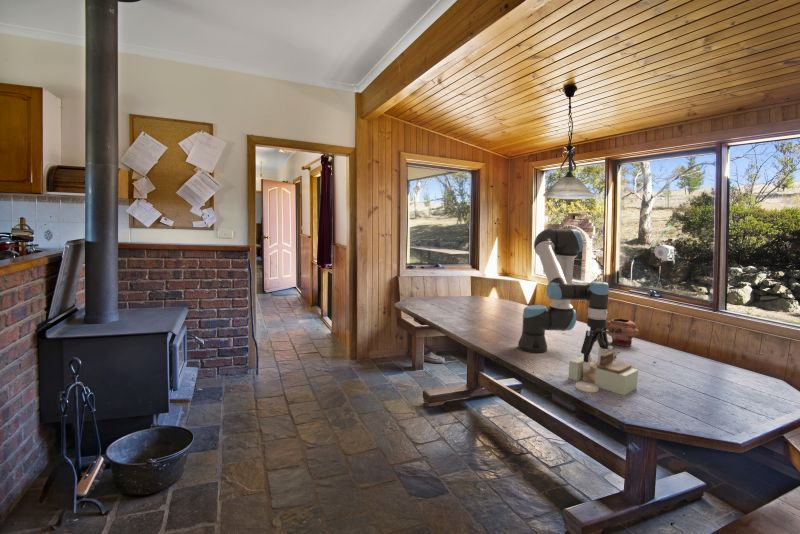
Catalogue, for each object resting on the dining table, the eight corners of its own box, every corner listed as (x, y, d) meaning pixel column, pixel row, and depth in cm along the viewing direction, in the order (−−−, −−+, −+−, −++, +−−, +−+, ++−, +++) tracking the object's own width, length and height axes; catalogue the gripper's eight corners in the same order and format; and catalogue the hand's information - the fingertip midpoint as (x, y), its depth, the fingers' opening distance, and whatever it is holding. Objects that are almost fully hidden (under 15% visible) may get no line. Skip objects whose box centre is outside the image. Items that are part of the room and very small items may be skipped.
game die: (612, 369, 222) (623, 357, 216) (595, 362, 224) (605, 350, 217) (612, 356, 229) (623, 344, 222) (596, 349, 230) (606, 337, 223)
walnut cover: (596, 367, 188) (597, 355, 187) (609, 361, 196) (610, 350, 195) (618, 373, 181) (619, 361, 181) (631, 367, 189) (632, 355, 188)
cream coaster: (571, 387, 187) (571, 384, 187) (581, 382, 193) (582, 380, 193) (592, 394, 180) (592, 391, 180) (602, 389, 186) (602, 386, 186)
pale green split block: (568, 378, 198) (569, 360, 197) (581, 372, 206) (583, 355, 205) (624, 395, 180) (625, 376, 179) (636, 388, 188) (638, 369, 187)
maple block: (582, 380, 196) (583, 364, 195) (589, 377, 200) (590, 361, 199) (596, 384, 192) (597, 368, 191) (602, 381, 196) (603, 365, 195)
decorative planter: (596, 342, 256) (598, 318, 255) (602, 338, 266) (603, 315, 264) (635, 349, 244) (637, 324, 243) (639, 344, 254) (641, 320, 252)
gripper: (591, 323, 182) (588, 374, 184) (618, 315, 198) (615, 362, 200) (574, 319, 187) (571, 369, 190) (601, 313, 204) (598, 358, 206)
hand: (593, 366), depth 195 cm, fingers open, 13 cm apart
